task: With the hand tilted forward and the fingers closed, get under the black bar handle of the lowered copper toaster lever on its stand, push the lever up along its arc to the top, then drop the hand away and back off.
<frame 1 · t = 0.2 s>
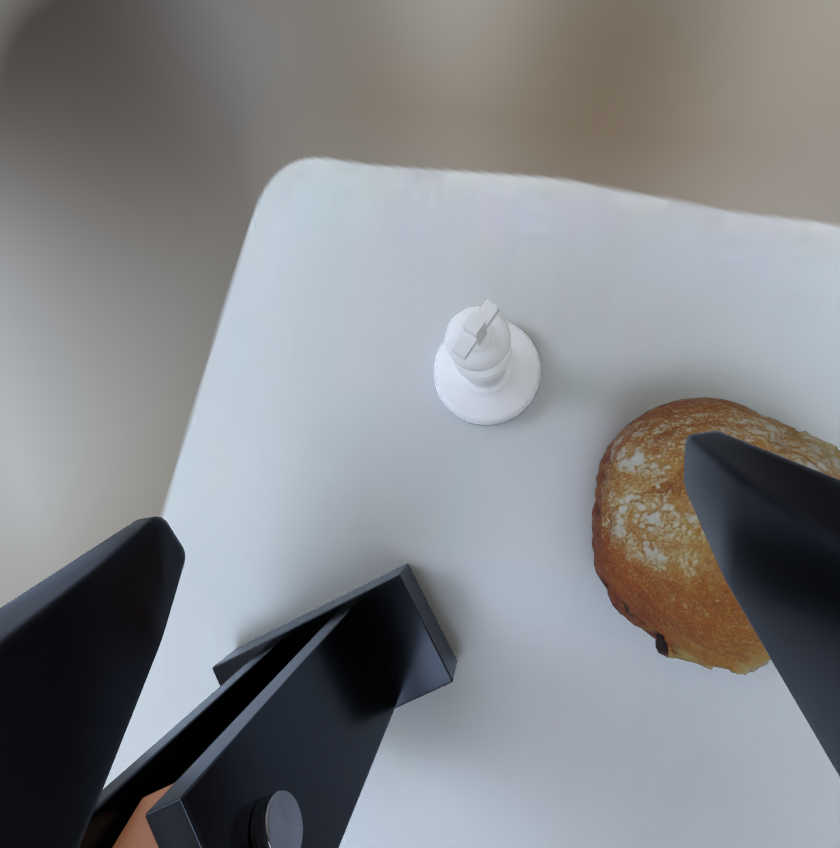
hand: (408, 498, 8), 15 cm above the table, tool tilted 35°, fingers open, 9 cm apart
bread roll: (698, 524, 22), on the table
chess piece: (486, 372, 23), on the table
stand: (341, 655, 24), on the table
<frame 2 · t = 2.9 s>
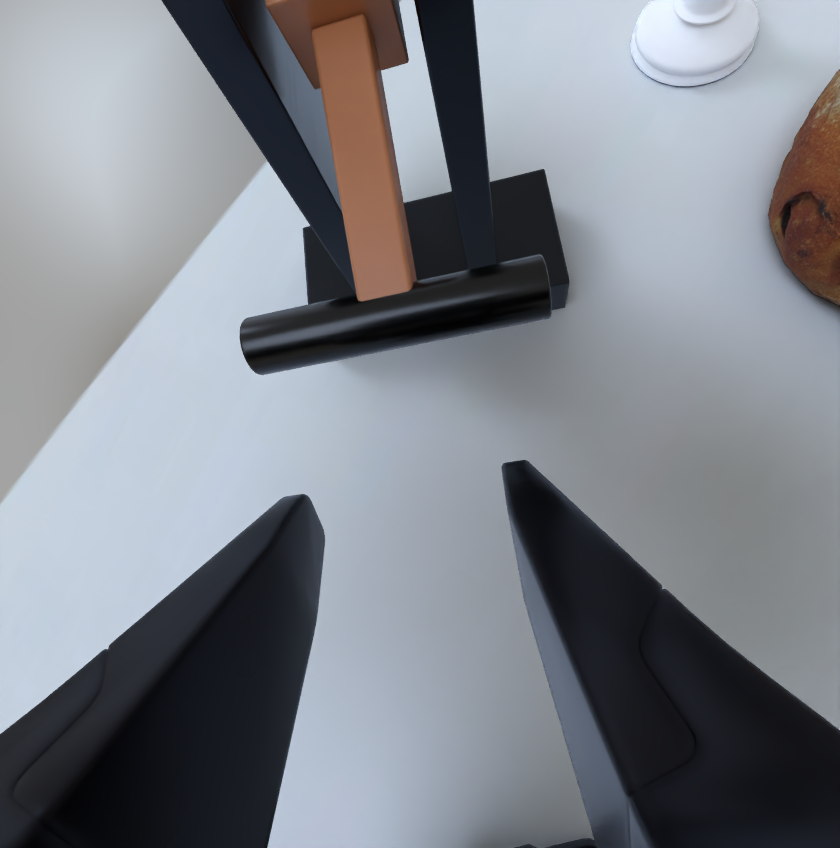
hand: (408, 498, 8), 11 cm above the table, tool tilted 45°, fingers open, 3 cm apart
toaster lever: (359, 123, 10), point 11 cm above the table, hinge at -16.0°
chess piece: (689, 44, 22), on the table
stand: (434, 279, 21), on the table
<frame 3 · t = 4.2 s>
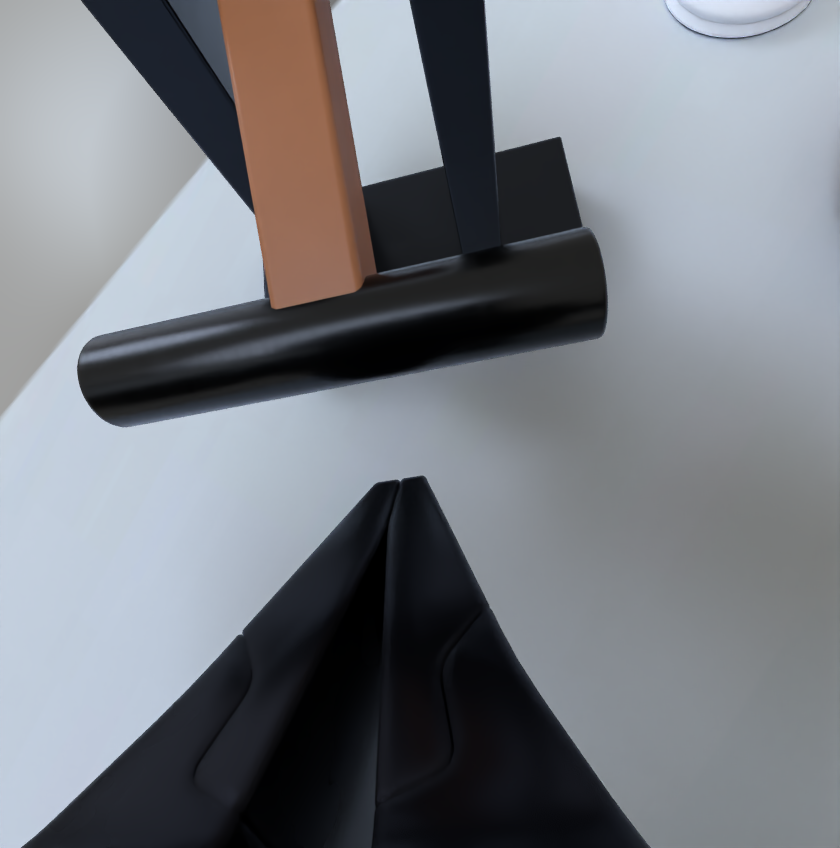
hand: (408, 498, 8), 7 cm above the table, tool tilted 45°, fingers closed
toaster lever: (278, 10, 6), point 11 cm above the table, hinge at -16.0°
stand: (424, 275, 17), on the table
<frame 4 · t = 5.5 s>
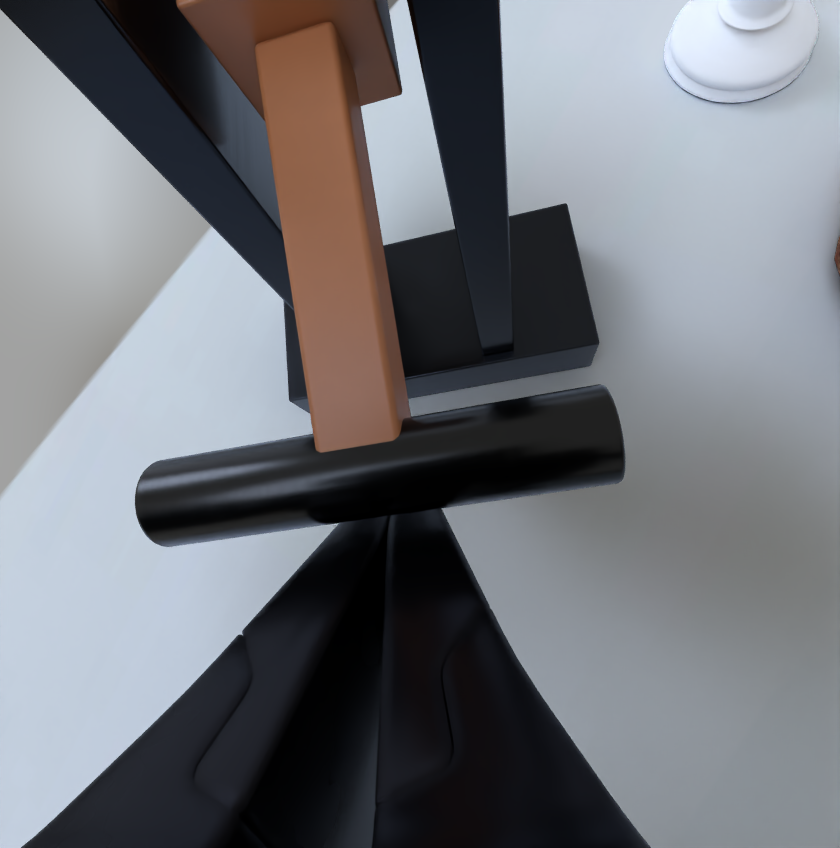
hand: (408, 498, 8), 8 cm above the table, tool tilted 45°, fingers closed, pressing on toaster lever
toaster lever: (325, 180, 7), point 11 cm above the table, hinge at -12.6°, touching gripper
chess piece: (733, 53, 19), on the table
stand: (436, 328, 18), on the table
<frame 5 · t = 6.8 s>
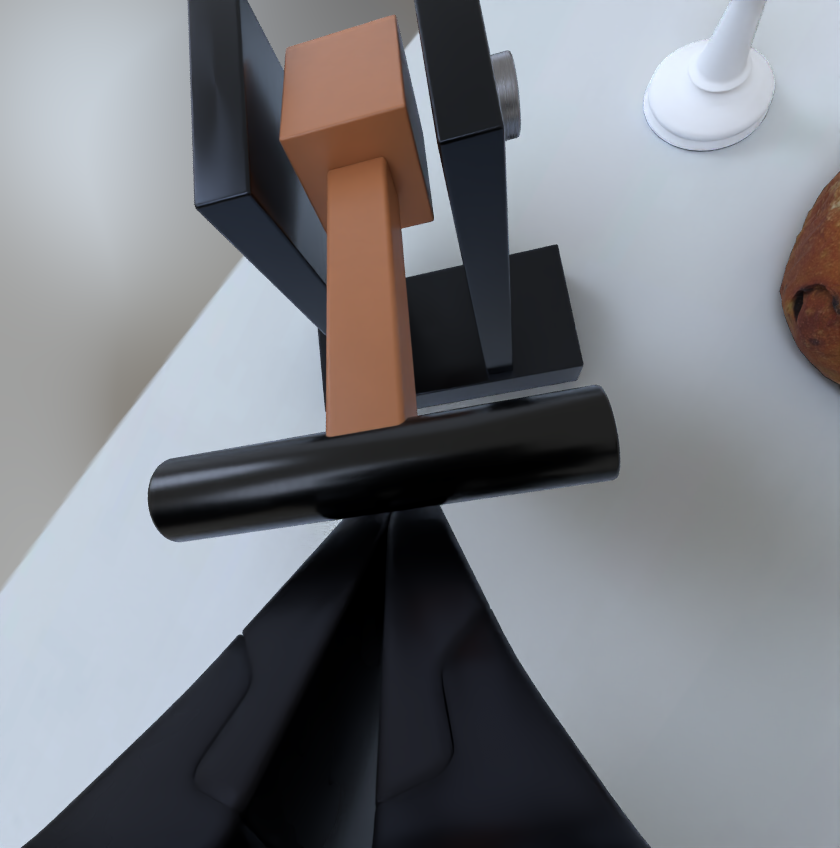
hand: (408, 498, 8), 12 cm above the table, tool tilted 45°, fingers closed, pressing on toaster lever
toaster lever: (366, 253, 8), point 13 cm above the table, hinge at 13.8°, touching gripper
chess piece: (703, 104, 21), on the table
stand: (446, 346, 21), on the table
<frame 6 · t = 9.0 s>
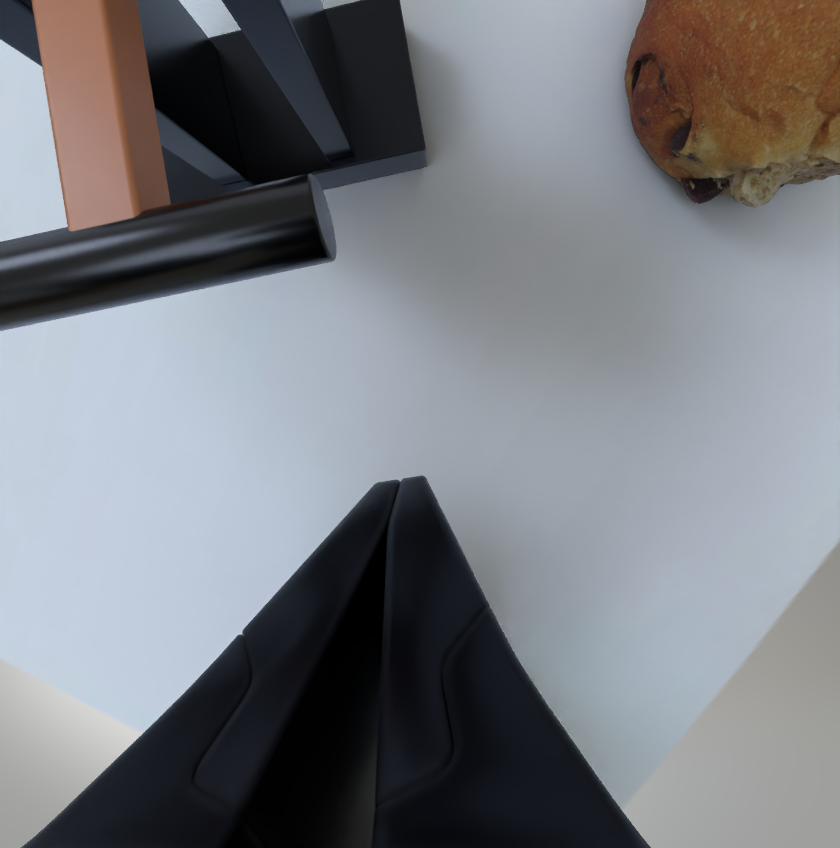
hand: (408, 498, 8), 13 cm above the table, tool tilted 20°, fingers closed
toaster lever: (88, 8, 7), point 13 cm above the table, hinge at 11.9°
bread roll: (746, 72, 19), on the table
stand: (289, 127, 19), on the table
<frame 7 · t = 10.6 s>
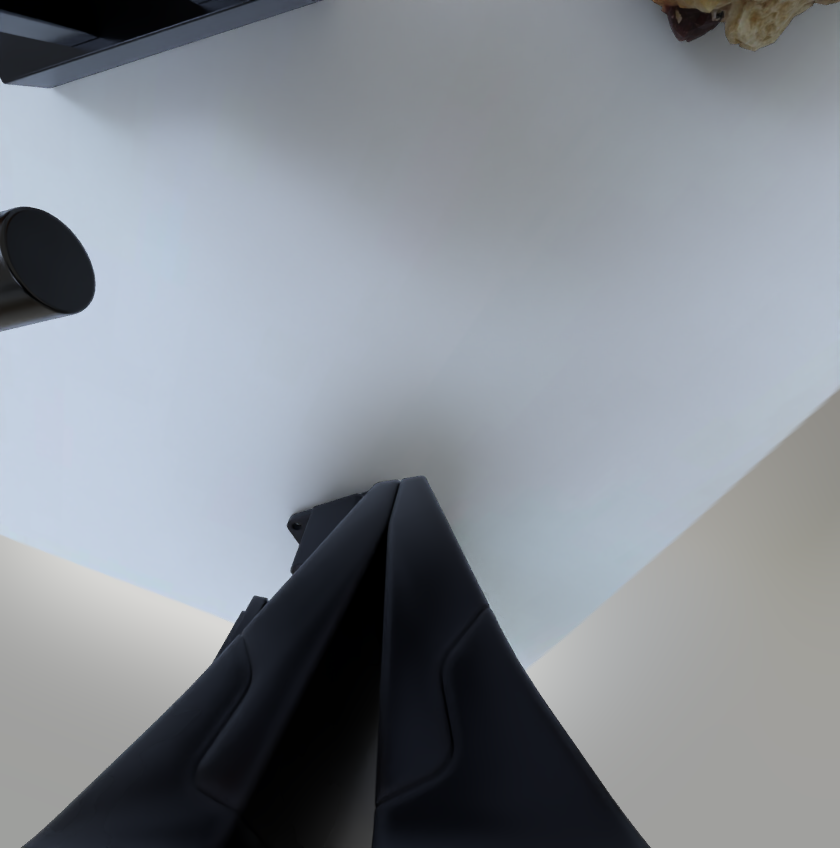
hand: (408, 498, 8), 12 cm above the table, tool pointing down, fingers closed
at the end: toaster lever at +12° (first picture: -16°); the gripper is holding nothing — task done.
